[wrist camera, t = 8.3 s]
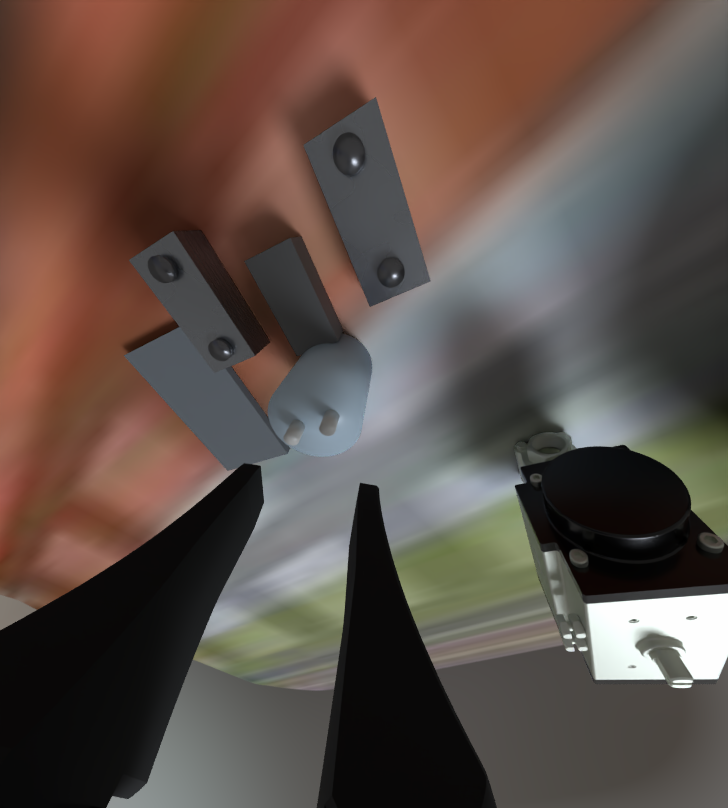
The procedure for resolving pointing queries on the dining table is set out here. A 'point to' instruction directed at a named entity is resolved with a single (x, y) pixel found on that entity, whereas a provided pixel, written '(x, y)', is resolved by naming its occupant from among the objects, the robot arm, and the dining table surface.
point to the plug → (312, 356)
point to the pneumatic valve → (624, 562)
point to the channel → (355, 219)
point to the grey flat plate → (208, 401)
